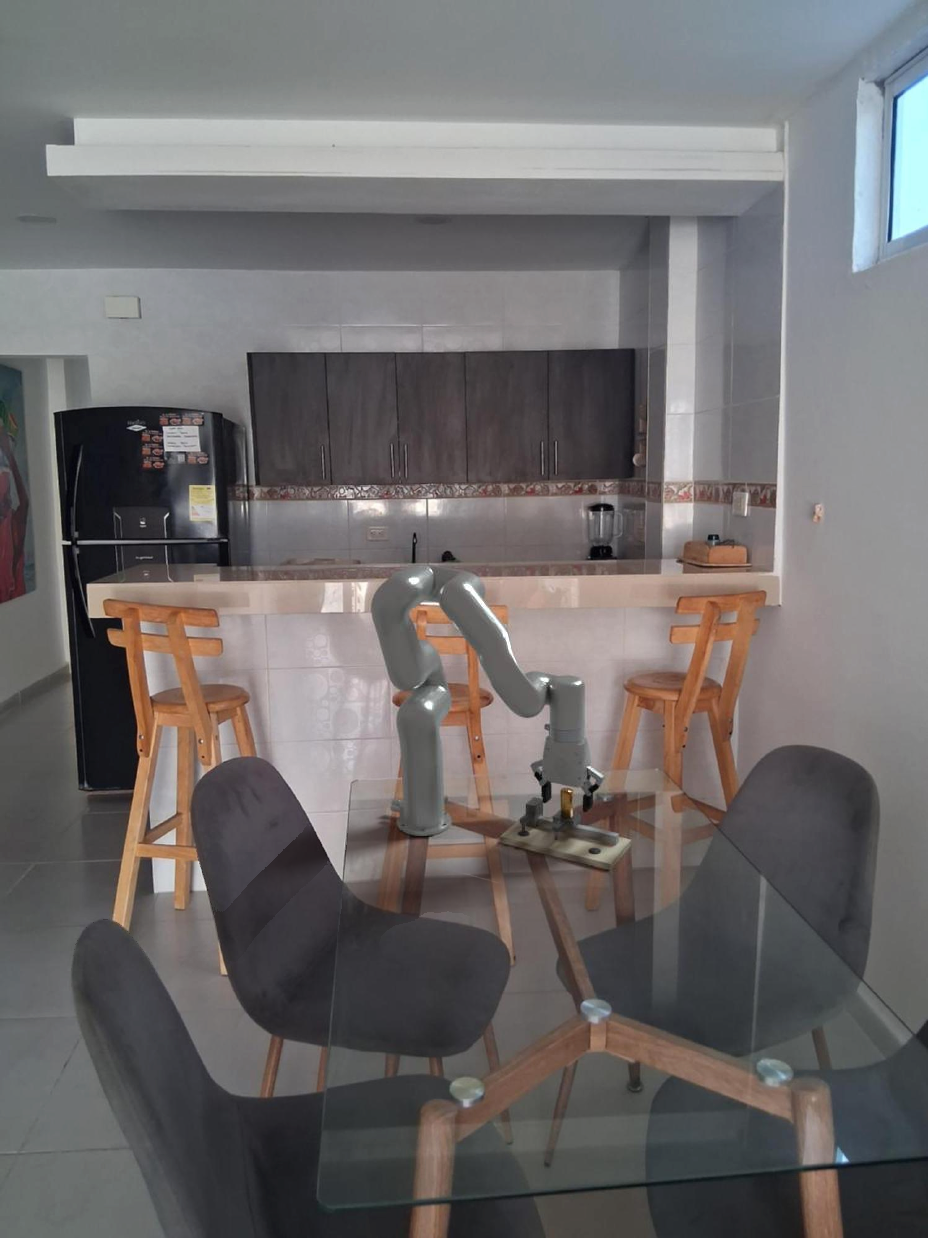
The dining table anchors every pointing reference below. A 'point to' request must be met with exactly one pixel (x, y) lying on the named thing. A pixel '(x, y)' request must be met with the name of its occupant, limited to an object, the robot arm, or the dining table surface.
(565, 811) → the brass and grey piece
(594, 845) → the hole plate
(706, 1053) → the dining table surface
